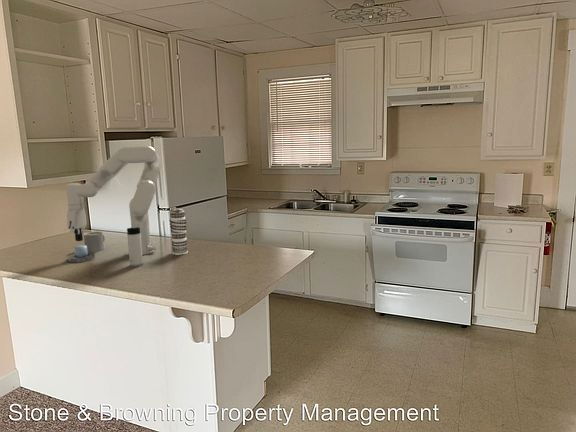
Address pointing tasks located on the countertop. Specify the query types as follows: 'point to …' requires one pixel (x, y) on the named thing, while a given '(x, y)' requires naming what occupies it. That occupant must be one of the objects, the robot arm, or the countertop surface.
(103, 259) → the countertop surface
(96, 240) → the coffee mug
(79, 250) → the pale blue rounded block
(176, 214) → the decorative candle
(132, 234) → the travel mug
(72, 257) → the collar ring
